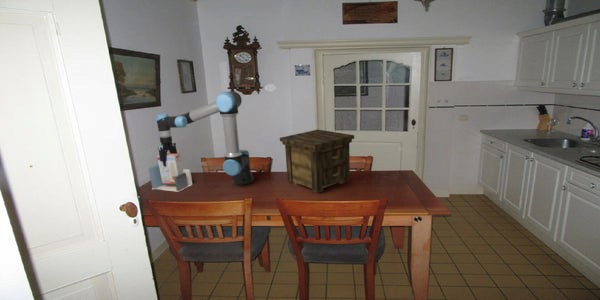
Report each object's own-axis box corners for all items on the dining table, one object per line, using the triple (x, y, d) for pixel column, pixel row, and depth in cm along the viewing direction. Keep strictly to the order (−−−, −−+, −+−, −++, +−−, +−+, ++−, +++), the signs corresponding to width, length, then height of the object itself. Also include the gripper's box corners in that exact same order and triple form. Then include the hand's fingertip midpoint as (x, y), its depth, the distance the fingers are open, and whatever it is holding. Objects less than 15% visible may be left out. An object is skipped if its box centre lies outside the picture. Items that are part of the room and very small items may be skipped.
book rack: (192, 186, 218) (189, 164, 214) (178, 193, 205) (174, 170, 201) (167, 183, 227) (163, 162, 223) (152, 189, 215) (147, 168, 211)
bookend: (187, 186, 214) (185, 172, 212) (178, 191, 206) (176, 177, 204) (186, 186, 215) (184, 172, 212) (176, 190, 207) (174, 177, 204)
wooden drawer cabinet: (319, 171, 234) (317, 129, 226) (354, 182, 208) (354, 135, 200) (282, 183, 213) (279, 137, 205) (317, 197, 187) (314, 145, 178)
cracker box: (184, 181, 217) (179, 153, 211) (179, 184, 211) (174, 155, 206) (167, 180, 220) (162, 153, 215) (161, 184, 214) (156, 155, 209)
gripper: (172, 133, 217) (177, 164, 223) (149, 139, 200) (155, 172, 206) (180, 133, 214) (185, 165, 220) (158, 139, 197) (164, 173, 203)
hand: (170, 168), depth 213 cm, fingers closed on cracker box, 6 cm apart
